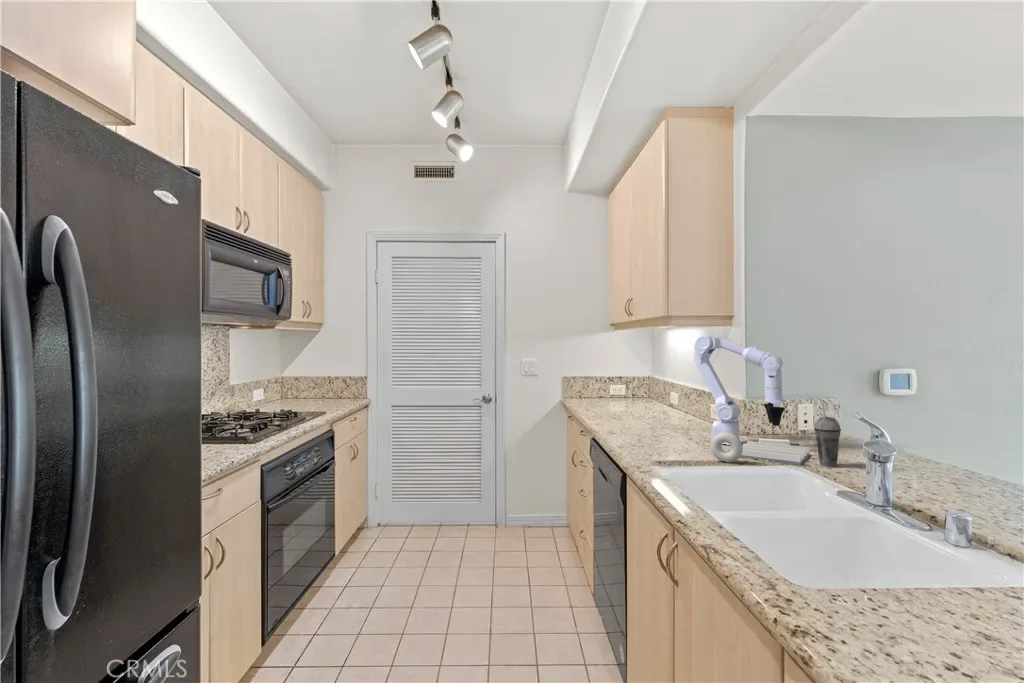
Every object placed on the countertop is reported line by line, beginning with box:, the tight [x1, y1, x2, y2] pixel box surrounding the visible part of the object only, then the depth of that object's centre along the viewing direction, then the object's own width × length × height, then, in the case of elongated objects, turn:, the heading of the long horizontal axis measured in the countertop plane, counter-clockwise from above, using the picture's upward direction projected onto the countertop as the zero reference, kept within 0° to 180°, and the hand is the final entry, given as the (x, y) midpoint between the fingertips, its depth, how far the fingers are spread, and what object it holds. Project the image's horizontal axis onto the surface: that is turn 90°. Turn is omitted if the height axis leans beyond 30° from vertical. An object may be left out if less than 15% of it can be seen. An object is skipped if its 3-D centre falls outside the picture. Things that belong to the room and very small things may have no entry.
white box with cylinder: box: [758, 438, 800, 446], centre depth 182 cm, size 13×3×4 cm, turn 70°
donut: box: [709, 432, 743, 463], centre depth 163 cm, size 10×4×10 cm, turn 55°
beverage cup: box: [813, 402, 842, 468], centre depth 156 cm, size 7×7×20 cm
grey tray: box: [740, 440, 811, 466], centre depth 170 cm, size 20×18×3 cm
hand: (774, 424), depth 182 cm, fingers open, 7 cm apart
